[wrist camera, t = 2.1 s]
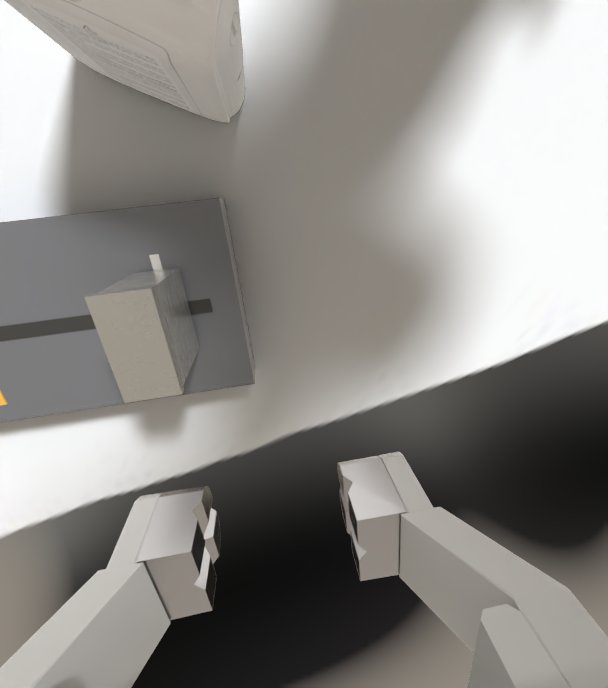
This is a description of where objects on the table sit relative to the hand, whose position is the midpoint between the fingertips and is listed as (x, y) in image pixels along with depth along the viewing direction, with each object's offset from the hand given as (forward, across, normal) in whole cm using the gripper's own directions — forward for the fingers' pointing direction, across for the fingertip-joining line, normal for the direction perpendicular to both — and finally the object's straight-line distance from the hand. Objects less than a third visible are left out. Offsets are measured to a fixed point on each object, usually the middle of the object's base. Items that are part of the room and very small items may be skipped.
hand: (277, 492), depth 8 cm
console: (+21, +15, 0) cm, 26 cm away
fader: (+18, +7, 0) cm, 19 cm away
